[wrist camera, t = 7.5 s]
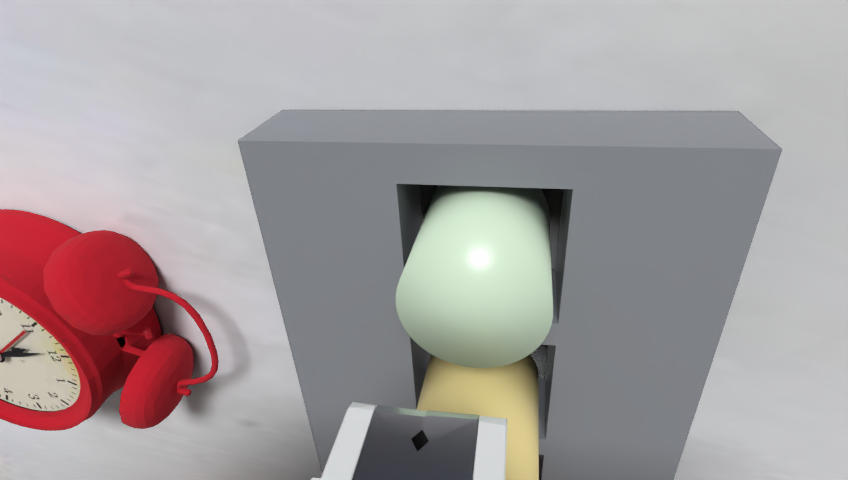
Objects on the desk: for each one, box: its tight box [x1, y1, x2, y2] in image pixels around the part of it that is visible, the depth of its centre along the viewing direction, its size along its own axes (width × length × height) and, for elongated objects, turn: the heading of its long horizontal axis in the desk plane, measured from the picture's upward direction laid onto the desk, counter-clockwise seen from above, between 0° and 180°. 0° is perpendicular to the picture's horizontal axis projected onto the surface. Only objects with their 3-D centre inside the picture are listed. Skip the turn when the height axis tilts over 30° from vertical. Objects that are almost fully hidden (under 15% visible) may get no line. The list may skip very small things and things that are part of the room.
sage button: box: [396, 185, 553, 368], centre depth 15 cm, size 4×4×5 cm
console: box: [238, 110, 782, 480], centre depth 19 cm, size 14×18×3 cm
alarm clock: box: [0, 209, 218, 430], centre depth 22 cm, size 10×6×15 cm
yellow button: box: [416, 354, 539, 480], centre depth 16 cm, size 4×4×5 cm
